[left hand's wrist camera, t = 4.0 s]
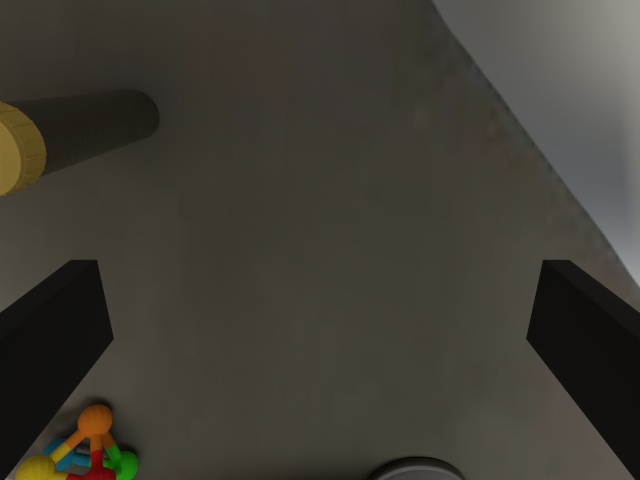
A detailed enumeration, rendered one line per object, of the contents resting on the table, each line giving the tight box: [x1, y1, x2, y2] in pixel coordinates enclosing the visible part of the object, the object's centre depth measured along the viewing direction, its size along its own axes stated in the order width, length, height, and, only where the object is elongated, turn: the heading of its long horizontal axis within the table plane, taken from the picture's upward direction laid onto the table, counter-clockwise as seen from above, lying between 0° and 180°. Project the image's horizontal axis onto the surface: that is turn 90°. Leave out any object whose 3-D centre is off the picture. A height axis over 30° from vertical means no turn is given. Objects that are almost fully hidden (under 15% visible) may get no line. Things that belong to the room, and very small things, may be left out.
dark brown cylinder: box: [4, 91, 159, 178], centre depth 31 cm, size 4×4×20 cm
